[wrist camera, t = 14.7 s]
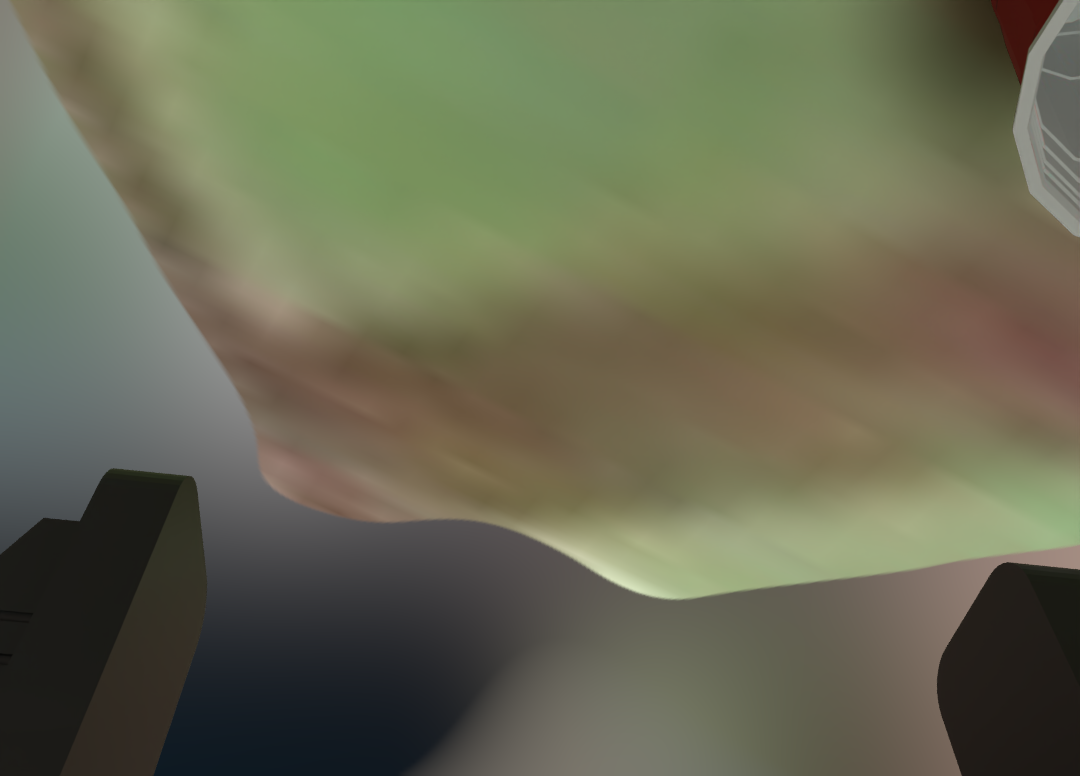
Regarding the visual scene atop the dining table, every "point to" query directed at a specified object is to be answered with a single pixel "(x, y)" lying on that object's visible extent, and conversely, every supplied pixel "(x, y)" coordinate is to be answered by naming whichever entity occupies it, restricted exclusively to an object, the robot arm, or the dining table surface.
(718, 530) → the dining table surface
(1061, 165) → the plastic cup
